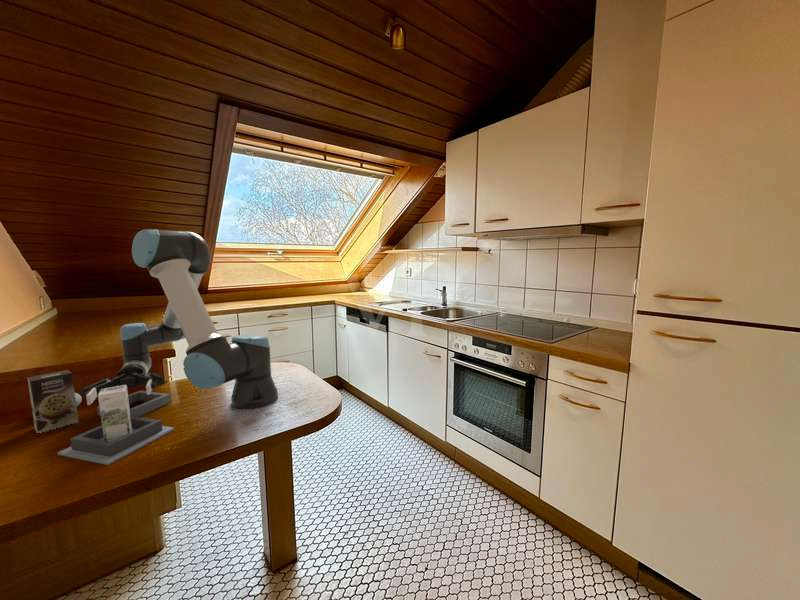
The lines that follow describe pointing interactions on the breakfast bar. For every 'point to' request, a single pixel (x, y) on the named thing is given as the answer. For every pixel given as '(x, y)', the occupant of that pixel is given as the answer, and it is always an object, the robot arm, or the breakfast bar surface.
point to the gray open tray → (152, 402)
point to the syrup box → (115, 412)
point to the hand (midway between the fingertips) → (119, 395)
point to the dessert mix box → (52, 400)
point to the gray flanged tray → (106, 452)
